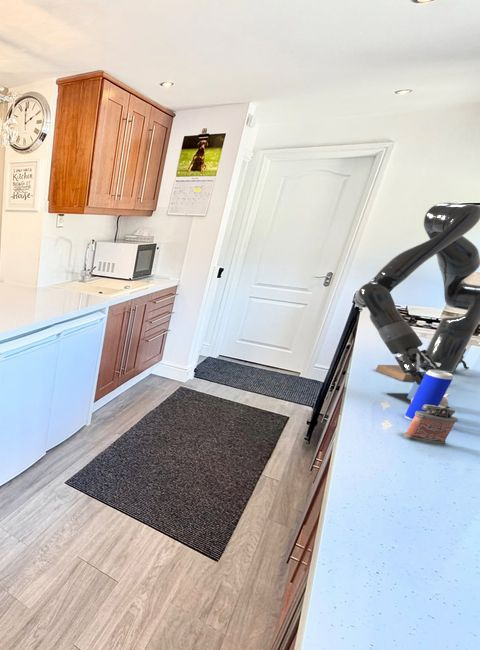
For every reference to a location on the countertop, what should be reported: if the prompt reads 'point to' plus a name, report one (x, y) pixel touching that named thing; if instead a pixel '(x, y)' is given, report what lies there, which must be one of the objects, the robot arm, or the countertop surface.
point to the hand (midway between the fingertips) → (430, 382)
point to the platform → (394, 372)
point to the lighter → (431, 424)
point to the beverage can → (429, 391)
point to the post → (414, 389)
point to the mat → (402, 397)
